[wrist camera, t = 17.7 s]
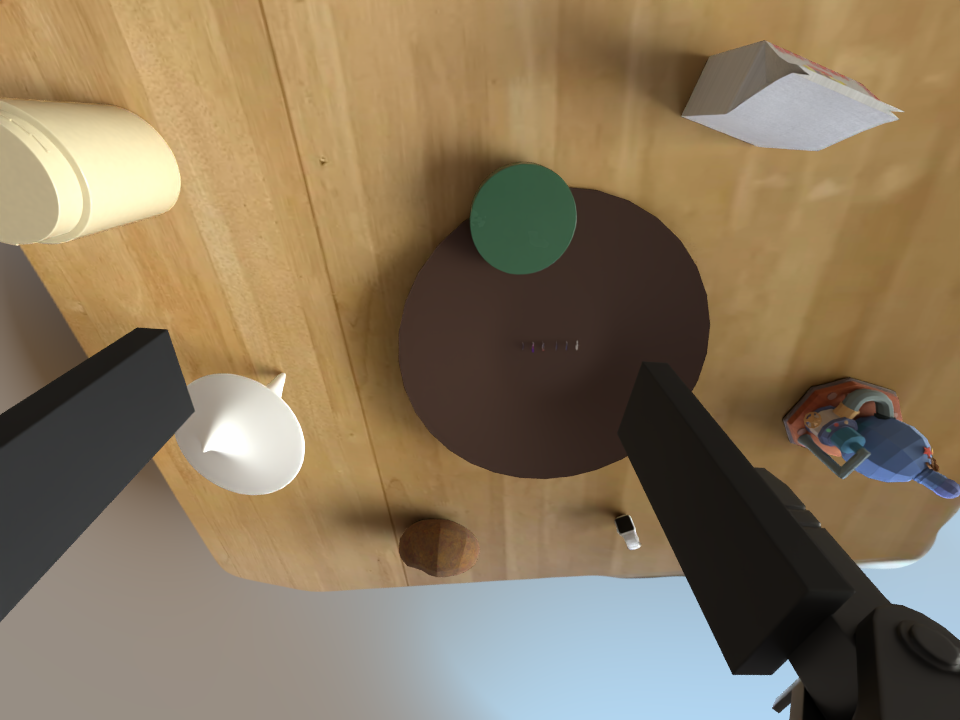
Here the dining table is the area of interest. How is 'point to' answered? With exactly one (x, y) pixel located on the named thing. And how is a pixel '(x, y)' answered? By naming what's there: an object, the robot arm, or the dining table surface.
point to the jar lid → (522, 218)
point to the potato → (439, 547)
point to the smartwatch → (627, 531)
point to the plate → (550, 341)
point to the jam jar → (79, 170)
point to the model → (864, 435)
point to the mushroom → (242, 434)
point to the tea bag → (782, 100)
